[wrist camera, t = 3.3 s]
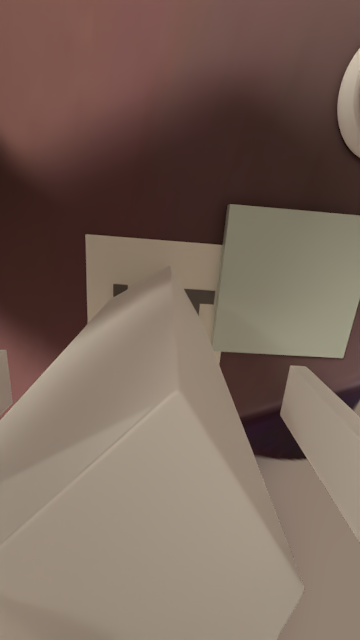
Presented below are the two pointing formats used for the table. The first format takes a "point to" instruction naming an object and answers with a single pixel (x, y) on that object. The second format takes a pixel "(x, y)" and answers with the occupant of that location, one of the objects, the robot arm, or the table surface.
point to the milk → (138, 490)
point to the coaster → (287, 282)
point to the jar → (350, 105)
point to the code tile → (152, 271)
